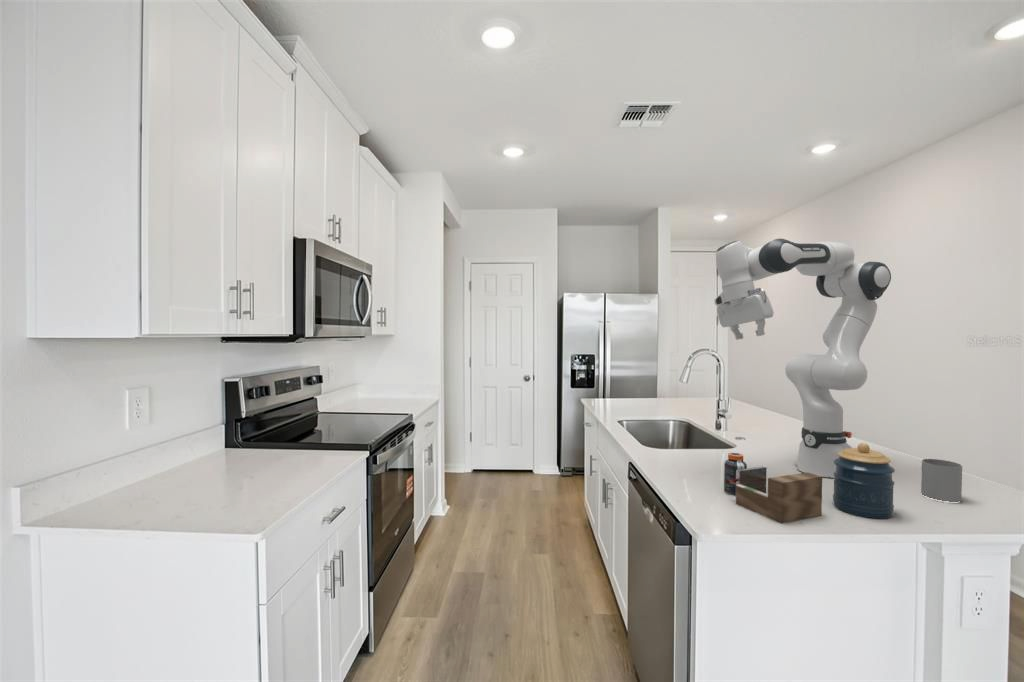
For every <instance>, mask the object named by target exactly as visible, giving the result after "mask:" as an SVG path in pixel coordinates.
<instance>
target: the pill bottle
mask: <svg viewBox="0 0 1024 682" xmlns="http://www.w3.org/2000/svg"><path fill="white" fill-rule="evenodd" d="M723 465H724V467H723V468H724V471H723V472H724V473H723V475H724V476H723V491H724V492H725V493H726V494H729V495H734V496H736V482H730V479H736V470H740V469H747V468H748V465H747V463H746V462H745V461H744V454H742V453H739V452H729V453H727V459H726V460H725V461H724V464H723Z"/></svg>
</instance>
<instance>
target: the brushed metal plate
mask: <svg viewBox="0 0 1024 682" xmlns="http://www.w3.org/2000/svg"><path fill="white" fill-rule="evenodd" d="M730 482H736V485H738V484H742V485H744V486H747V487H750V488H753V489H755V490H758V491H760V492H763V493H765V494H767V467H766V466H763V465H762V466H756V467H747V469H740V470H736V479H730Z"/></svg>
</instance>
